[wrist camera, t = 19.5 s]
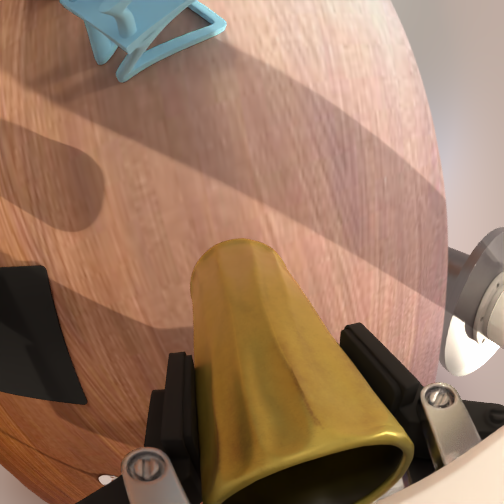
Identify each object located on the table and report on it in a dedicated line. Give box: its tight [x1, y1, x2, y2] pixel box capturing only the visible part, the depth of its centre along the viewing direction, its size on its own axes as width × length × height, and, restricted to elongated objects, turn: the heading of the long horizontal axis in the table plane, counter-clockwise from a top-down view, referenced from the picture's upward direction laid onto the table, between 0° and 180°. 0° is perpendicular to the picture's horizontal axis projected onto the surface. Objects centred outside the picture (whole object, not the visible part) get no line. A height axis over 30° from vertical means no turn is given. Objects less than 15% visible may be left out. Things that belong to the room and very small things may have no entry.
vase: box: [190, 238, 414, 504], centre depth 12 cm, size 6×6×14 cm
